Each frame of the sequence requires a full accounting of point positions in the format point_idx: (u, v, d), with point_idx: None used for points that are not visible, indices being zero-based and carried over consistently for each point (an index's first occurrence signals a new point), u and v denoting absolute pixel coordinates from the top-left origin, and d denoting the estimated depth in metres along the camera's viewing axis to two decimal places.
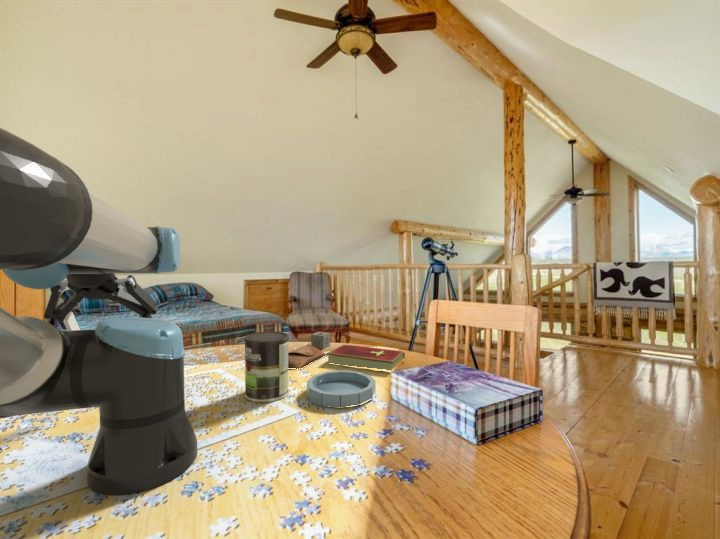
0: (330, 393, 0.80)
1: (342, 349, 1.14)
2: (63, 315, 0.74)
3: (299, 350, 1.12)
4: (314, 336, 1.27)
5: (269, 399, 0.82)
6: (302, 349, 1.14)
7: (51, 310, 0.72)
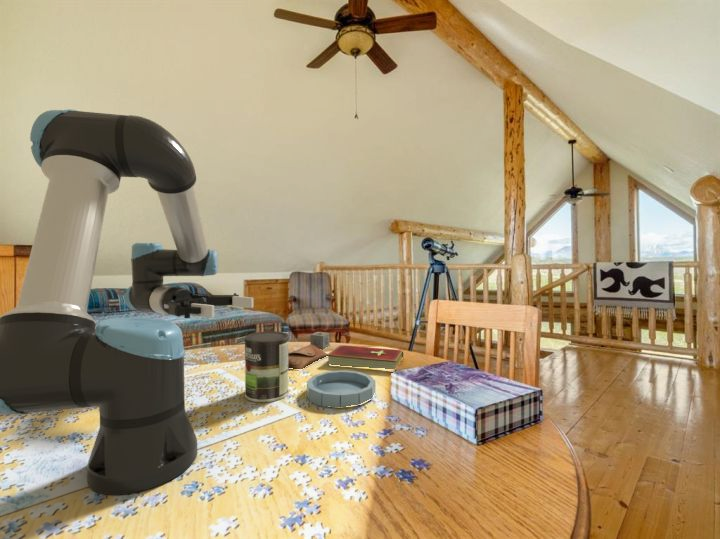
0: (330, 393, 0.80)
1: (340, 350, 1.13)
2: (187, 303, 0.86)
3: (301, 350, 1.12)
4: (313, 336, 1.27)
5: (269, 399, 0.82)
6: (304, 349, 1.13)
7: (177, 304, 0.86)
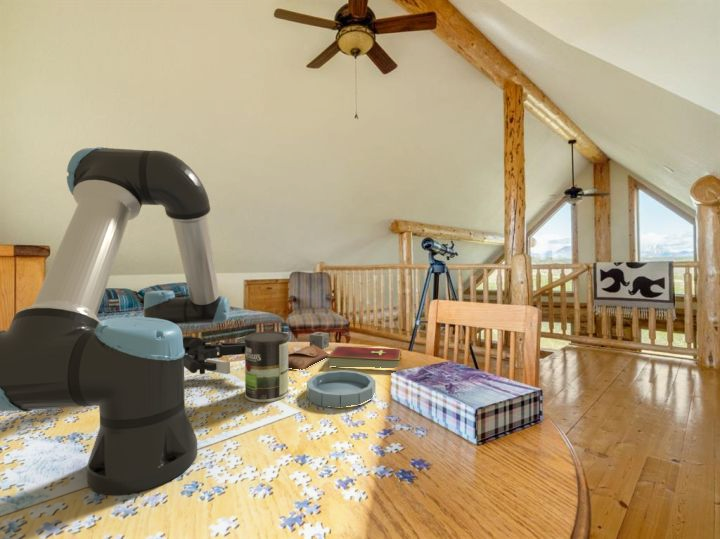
0: (330, 393, 0.80)
1: (339, 351, 1.11)
2: (202, 358, 0.86)
3: (303, 351, 1.11)
4: (313, 336, 1.27)
5: (269, 399, 0.82)
6: (306, 350, 1.13)
7: (192, 359, 0.86)
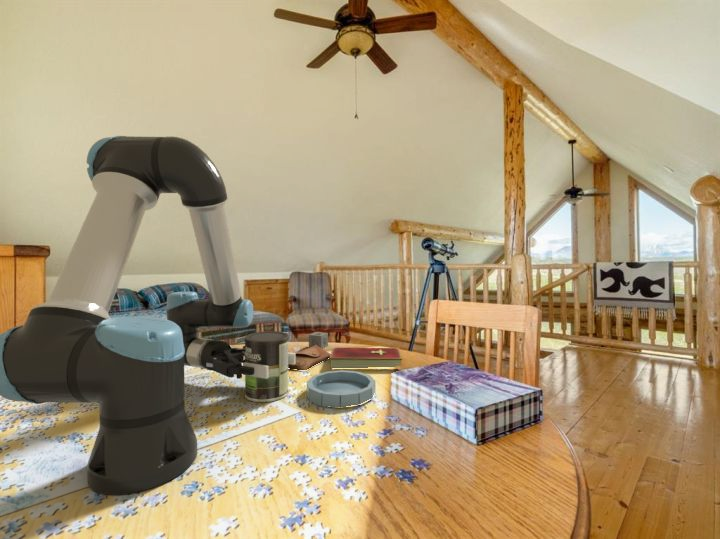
0: (330, 393, 0.80)
1: (339, 352, 1.10)
2: (238, 362, 0.83)
3: (305, 351, 1.11)
4: (312, 336, 1.27)
5: (269, 399, 0.82)
6: (308, 350, 1.12)
7: (227, 363, 0.82)
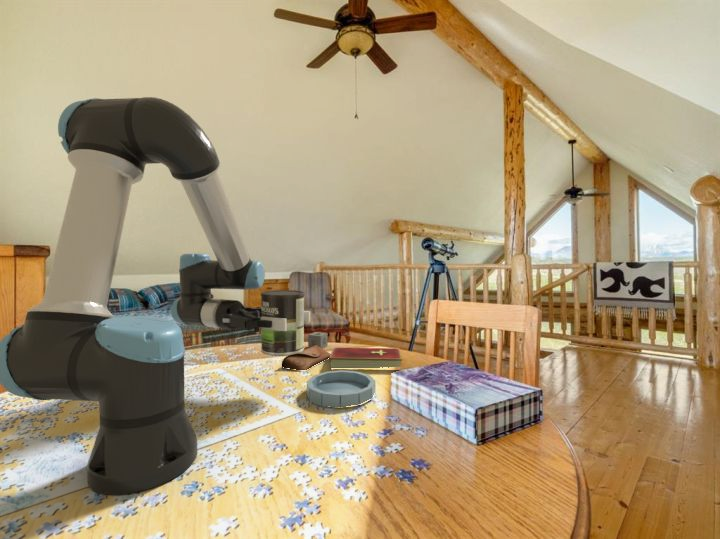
0: (330, 393, 0.80)
1: (339, 352, 1.10)
2: (255, 316, 0.84)
3: (305, 351, 1.11)
4: (311, 336, 1.27)
5: (286, 353, 0.83)
6: (308, 350, 1.12)
7: (244, 317, 0.83)
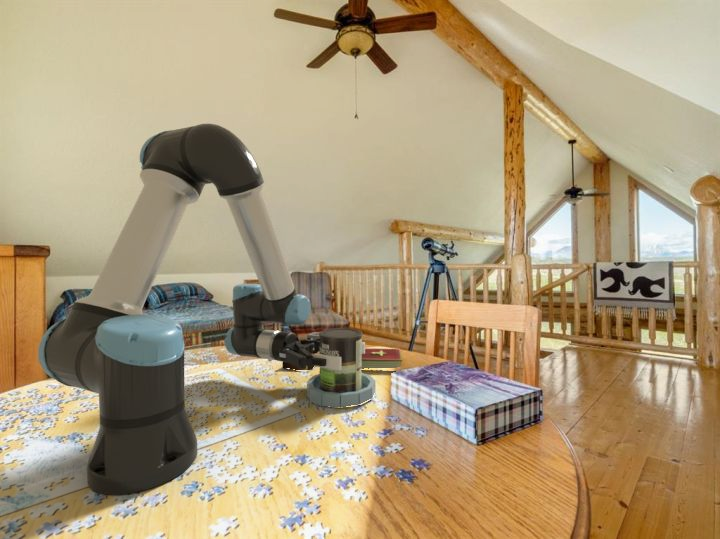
0: (330, 393, 0.80)
1: None
2: (309, 353, 0.82)
3: None
4: (310, 336, 1.26)
5: None
6: None
7: (299, 354, 0.81)
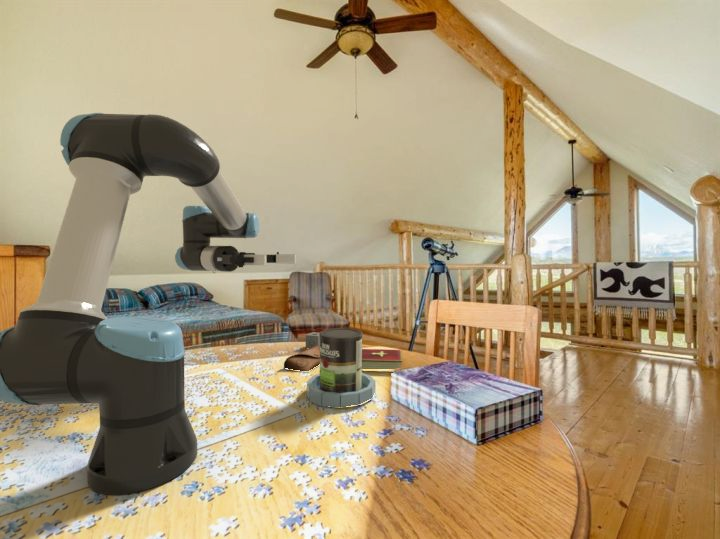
0: (330, 393, 0.80)
1: None
2: None
3: (307, 352, 1.10)
4: (309, 336, 1.26)
5: None
6: (310, 351, 1.12)
7: None
